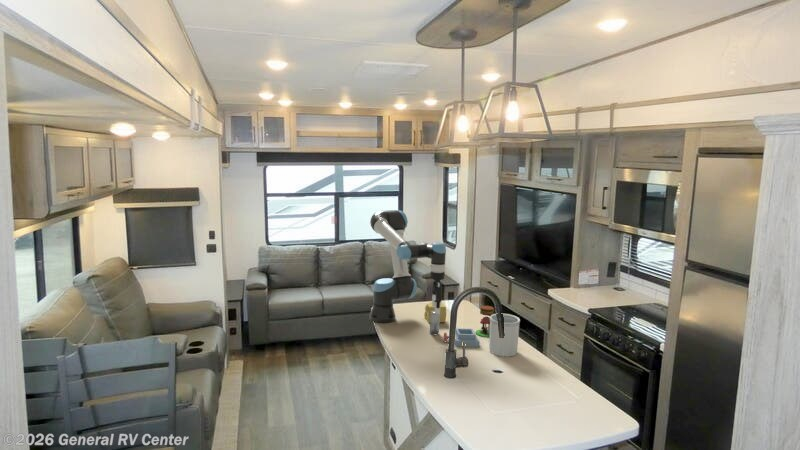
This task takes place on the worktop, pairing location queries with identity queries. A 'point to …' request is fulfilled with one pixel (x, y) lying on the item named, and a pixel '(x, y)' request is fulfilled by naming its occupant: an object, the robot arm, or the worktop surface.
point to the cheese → (432, 308)
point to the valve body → (464, 337)
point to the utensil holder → (510, 339)
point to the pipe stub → (434, 323)
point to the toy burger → (485, 321)
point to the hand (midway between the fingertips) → (435, 309)
